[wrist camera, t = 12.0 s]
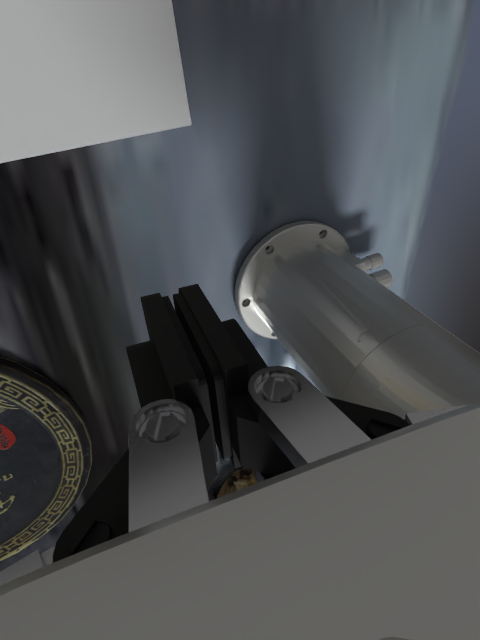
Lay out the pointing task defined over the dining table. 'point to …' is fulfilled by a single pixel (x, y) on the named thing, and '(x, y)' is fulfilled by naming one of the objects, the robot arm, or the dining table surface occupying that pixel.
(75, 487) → the decorative plate
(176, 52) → the overhang dock
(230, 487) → the bread roll
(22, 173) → the dining table surface
